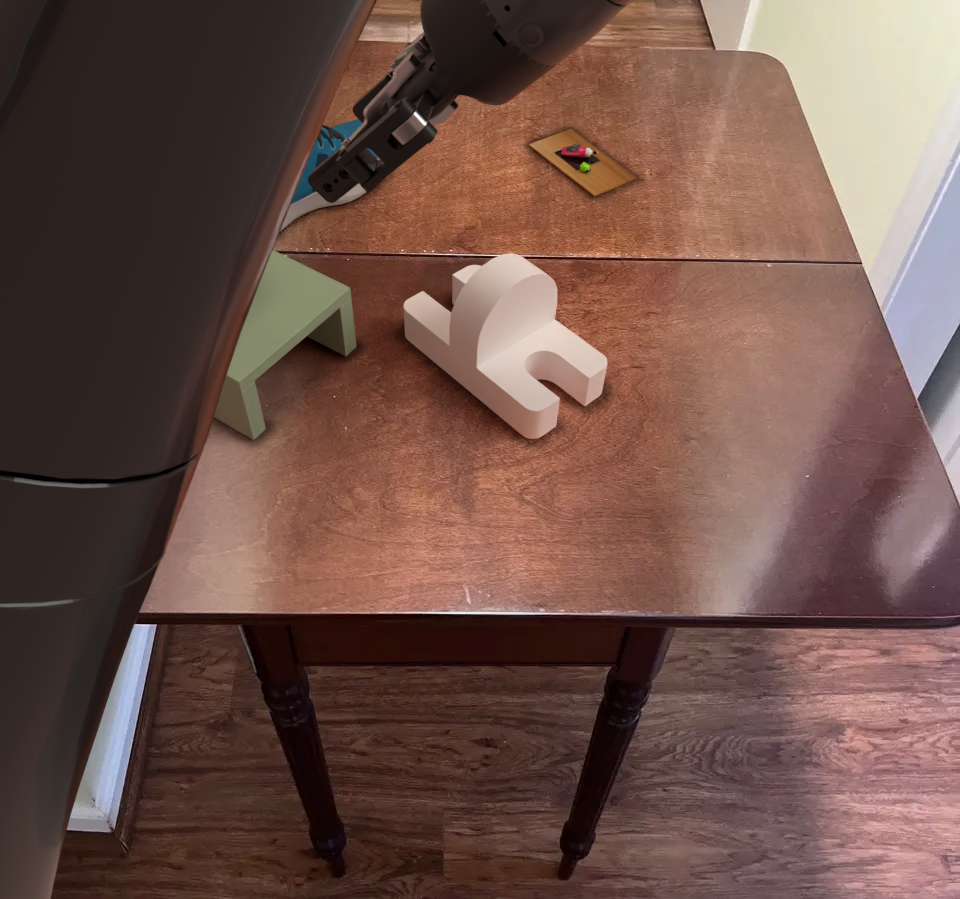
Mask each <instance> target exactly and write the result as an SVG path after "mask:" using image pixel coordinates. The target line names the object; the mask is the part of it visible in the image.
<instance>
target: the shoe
mask: <svg viewBox="0 0 960 899" xmlns="http://www.w3.org/2000/svg"><path fill="white" fill-rule="evenodd" d="M361 125H362V122H361V121H360V120H359V119H358V118H357V119H354V120H349V121H346V122H342V123H339V124H337V125H334V126H331V127H330V126H328V125H325V124H323V125H322V128H321V130H320V133H319V135H318V138H317V140H316V143H315V145H314V148H313V150H312V153H311V155H310V158H309V160H308V163H307V165H306V168H305V170H304V172H303V175H302V177H301V180H300V182H299V185H298V187H297V190H296V192H295V195H294V197H293V200H292V202H291V205H290V207H289V210H288V212H287V215H286V217H285V220H284V223H283V225H282V228H281V230H280V232H282V231H283V230H284V229H285V228H286V227H287V226H289V225H290V224H291V223H292V222H293V221H295V220H296V219H298V218H301V216H302V215H304V214H307V213H310V212H312V211H315V210H317V209H322V208H326V207H327V208H328V207H332V206H340V205H343V204H347V203H350V202H353V201H354V200H356V199H359V198H360V197H361V196H363V195H364V194H366V193H367V192H366V191H365V190H364V189H363V188H362V187H361V185H360V184H357V185H356V186H355V187H354V188H352V189H351V190H350V191H349V192H347V193H346V194H345V195H343V196H342V197H341V198H340V199H338V200H337V201H336V202H334V203H330V202H327V201H326V200H325V199H324V198H323V197H322V196H321V195H319V194H318V193H317V192H316V191H315V190H314V189H313V188H312V187H311V186H310V185H309V183H308V177H309V175H310V174H311V172H312V171H313V170H314V169H315V168H316V167H317V166H318V165H320V164H321V163H322V162H323V161H324V160H326V159H327V158H328V157H329V156H330V155H331V154H333V153H334V152H335V151H336V150H337V149H338V148H340V147H341V146H342V145H343V144H342V143H343V141H344V140H345V139H346V138H349V137H350V136H351V135H352V134H353V133H354V132H355V131H356V130H357V129H358V128H359V127H360V126H361ZM367 149H368V150H369V151H370V152H371V153H372V154H373V155H374V156H375V157H376V158H377V157H378V156H377V155H376V154H375V153H374V152H373V151H372V150H371V149H369V148H367Z"/></svg>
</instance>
